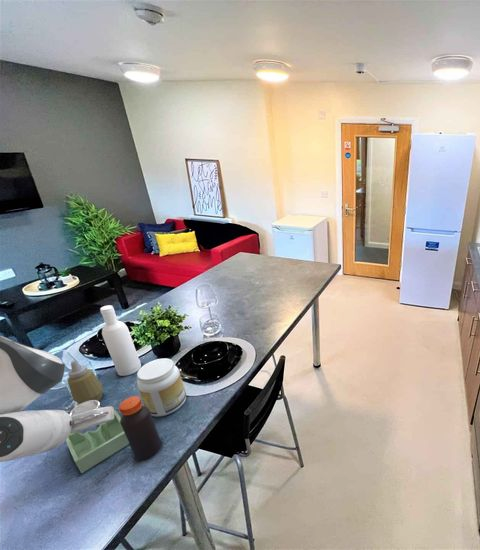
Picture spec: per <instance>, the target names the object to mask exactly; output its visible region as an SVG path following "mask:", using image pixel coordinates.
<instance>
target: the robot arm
mask: <svg viewBox="0 0 480 550" xmlns="http://www.w3.org/2000/svg"><path fill="white" fill-rule="evenodd" d="M65 365H66V364H65V362H64V361H62V359H61V358H60V357H58V356H56V355H55V354H53V353H50V352H49V351H48V352H47V351H45V350H43V349H39V348H34V347H31V346H28V345H25V344H23V343H22V342H18V341H16V340H14V339H11V338H9V337H7V336H4V335H2V334H0V463H5V462H11V461H14V460H15V461H16V460H20V459H22V458H25V457H26V458H27V457H31V456H35V455H40V454H43V453H47V452H50V451H52V450H54V449H56V448H58V447H59V446H61V445H62V444H63V443H65V442H66V441H65V440H66V439H67V438H68V436H69V435H70V434H72V433H75V432H78V431H81V430H84V429H88V428H91V427H94V426H97V425H100V424H103V423H106V422H109V421H112V420H113V419H114V410H115V409H114V407H113V406H111V405H110V406H104V407H103V406H102V408H97V409H93V410H89V411H86V412H83V413H79V414H76V415H73V416H70V415H69V414H70V413H69V412H67V411H65V410H61V409H40V410H25V409H26V408H27V407H28V406H29V405H31V404H32V403H33V402H34V401H36V400H37V399H39V397H41V396H42V395H44V394H45V393H47V392H48V391H50V390H51V389H53V388H54V387H55V386H57V385H58V384H59V383H61V382H62V381H63V377H64V374H65V370H66V369H65V367H66V366H65Z"/></svg>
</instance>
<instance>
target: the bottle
mask: <svg viewBox="0 0 480 550" xmlns="http://www.w3.org/2000/svg"><path fill="white" fill-rule="evenodd" d="M99 310H100V314H101V315H102V318H103V321H104V323H105V325H104V326H103V327H102V329H101V335H102V338H103V342H104V343H105V346H106V348H107V350H108V353H109V355H110V358H111V360H112V363H113V366H114V369H115V371H116V372H117V374H118V376H121V377H126V376H131V375H132V374H135V373H136V372H138V371H139V369H140V368H141V367H142V363H141V360H140V358H139V355H138V352H137V350H136V347H135V344H134V340H133V338H132V335H131V333H130V330H129V326H127V324H126V323H125V322H124V321H120V320H118V317H117V315H116V312H115V308H114V306H113V305H112V304H111V305H110V304H109V305H108V304H107V305H104V306H101V307H100V308H99Z"/></svg>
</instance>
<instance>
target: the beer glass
mask: <svg viewBox="0 0 480 550" xmlns="http://www.w3.org/2000/svg"><path fill="white" fill-rule="evenodd" d="M102 407H103V406H102V404H101V403H100V400H99V401H97V400H89V401H86V402H83V403H81V404H79V403H78V405H76V406H75V407H74V408H72V409H71V411H70V412H69V413H68V414H69V415H70V416H73V415H76V414H79V413H83V412H86V411H89V410H93V409H97V408H102ZM78 433H79V434H80V435H81V436H82V437H83V438H84V439H85V440H86V441H87V443H88V449H89V451H91V450H93V449H95V448H96V447H98V446H100V445H102V444H103V443H105V442H107V441H108V440H110V439H112V438H114V435H113V434H112V433H111V432H110V431H109V429H108V423H107V422H106V423H103V424H100V425H97V426H94V427H91V428H88V429H84V430H81V431H78Z"/></svg>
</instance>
